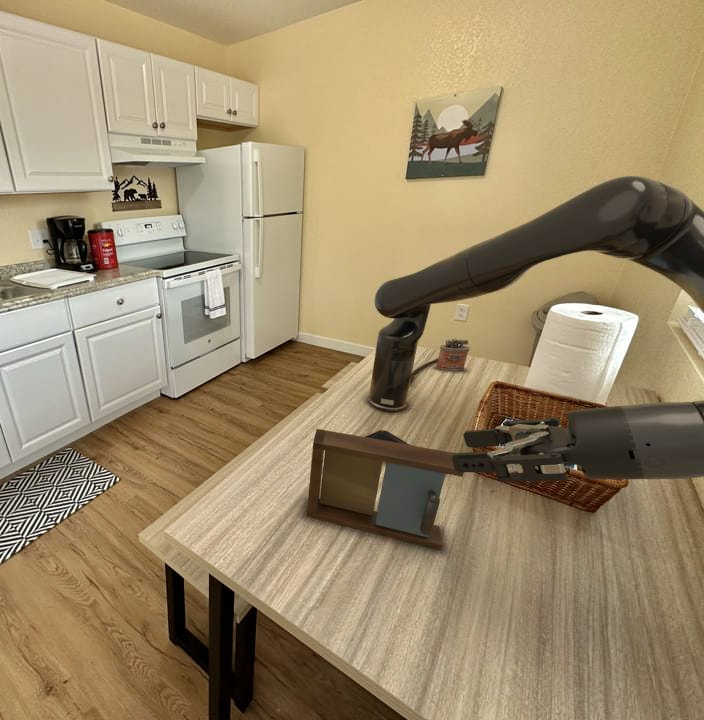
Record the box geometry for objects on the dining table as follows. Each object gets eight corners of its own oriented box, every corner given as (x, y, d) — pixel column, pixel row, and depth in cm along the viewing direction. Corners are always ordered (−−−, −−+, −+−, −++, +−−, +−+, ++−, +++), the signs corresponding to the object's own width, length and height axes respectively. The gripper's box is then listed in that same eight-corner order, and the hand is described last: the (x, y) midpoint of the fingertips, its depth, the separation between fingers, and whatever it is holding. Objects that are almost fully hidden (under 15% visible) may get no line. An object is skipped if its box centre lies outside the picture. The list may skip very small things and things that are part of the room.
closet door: (375, 520, 65) (387, 458, 59) (428, 533, 62) (445, 469, 57) (375, 538, 61) (387, 474, 56) (430, 552, 59) (449, 486, 53)
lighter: (437, 370, 119) (444, 340, 115) (434, 366, 122) (440, 336, 118) (465, 372, 118) (473, 341, 114) (461, 367, 121) (468, 337, 117)
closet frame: (309, 500, 71) (316, 428, 64) (437, 531, 64) (459, 453, 58) (306, 516, 67) (313, 442, 61) (441, 550, 61) (464, 470, 54)
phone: (383, 428, 89) (444, 465, 77) (382, 432, 90) (443, 469, 78) (359, 439, 86) (419, 478, 74) (358, 443, 86) (418, 483, 74)
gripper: (616, 390, 45) (460, 408, 56) (638, 428, 34) (440, 441, 45) (634, 451, 45) (475, 457, 56) (661, 508, 34) (458, 502, 45)
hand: (459, 450), depth 50 cm, fingers open, 8 cm apart
